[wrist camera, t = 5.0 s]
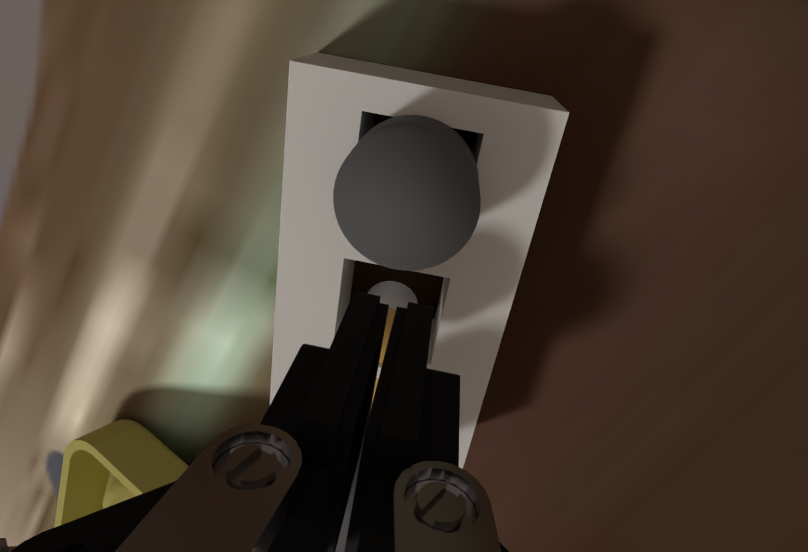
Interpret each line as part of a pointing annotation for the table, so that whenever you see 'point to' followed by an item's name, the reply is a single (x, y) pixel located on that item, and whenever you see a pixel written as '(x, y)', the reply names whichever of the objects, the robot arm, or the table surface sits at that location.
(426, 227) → the knob
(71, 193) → the table surface
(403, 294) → the pot knob
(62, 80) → the table surface
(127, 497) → the plastic component
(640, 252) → the table surface
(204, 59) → the table surface
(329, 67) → the mount
